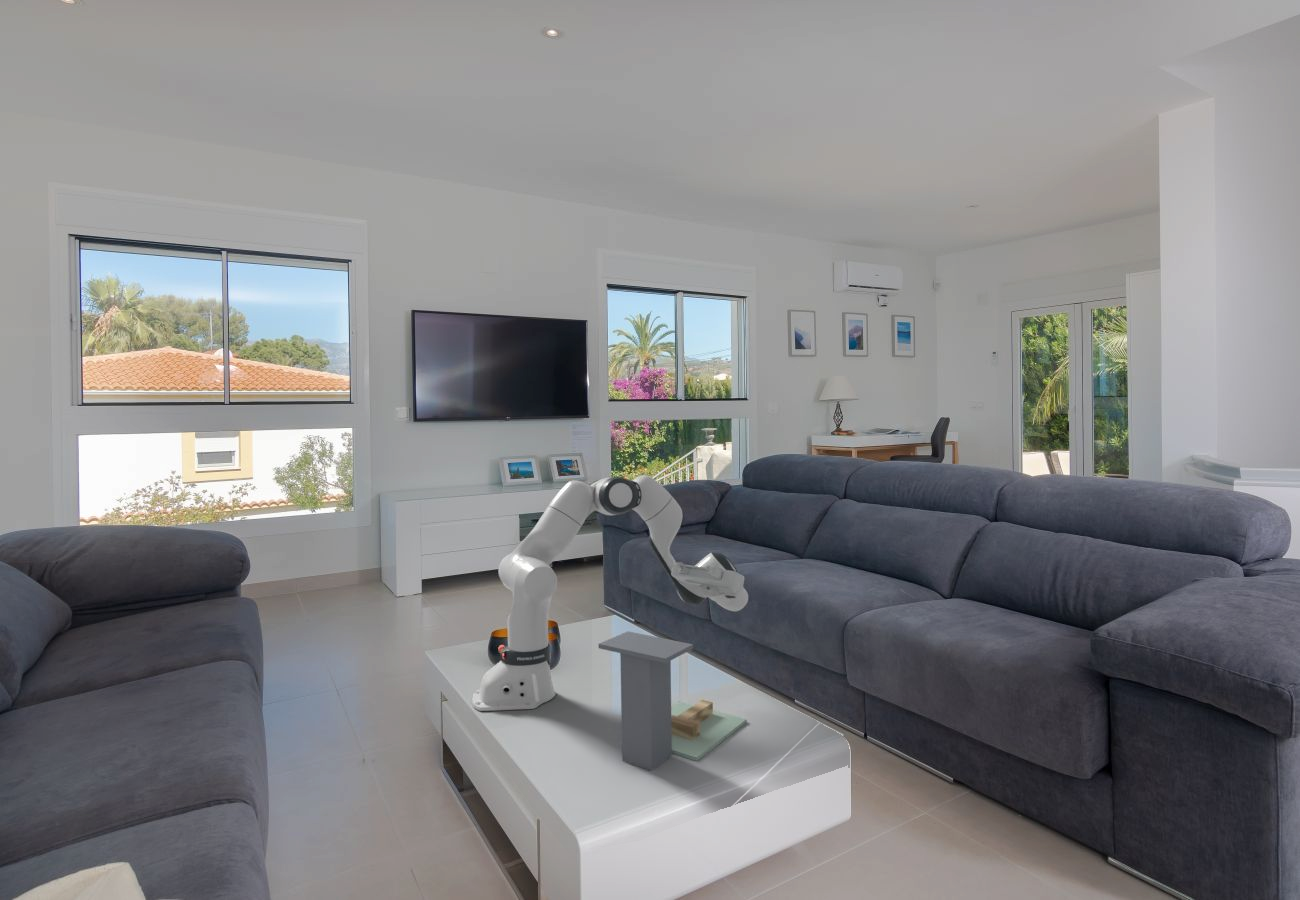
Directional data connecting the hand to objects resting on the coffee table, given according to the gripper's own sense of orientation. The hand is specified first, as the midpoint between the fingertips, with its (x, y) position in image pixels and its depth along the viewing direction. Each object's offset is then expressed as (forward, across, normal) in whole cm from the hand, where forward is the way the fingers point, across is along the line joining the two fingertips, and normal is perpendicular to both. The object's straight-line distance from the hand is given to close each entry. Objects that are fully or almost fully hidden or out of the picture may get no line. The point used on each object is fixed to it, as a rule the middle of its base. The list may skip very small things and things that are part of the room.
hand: (693, 566), depth 191 cm
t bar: (-4, +9, +38) cm, 40 cm away
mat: (-2, +9, +40) cm, 41 cm away
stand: (+12, +9, +49) cm, 51 cm away
